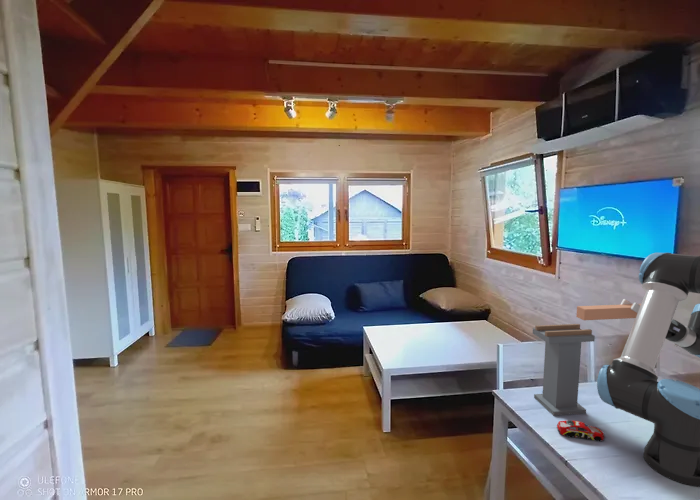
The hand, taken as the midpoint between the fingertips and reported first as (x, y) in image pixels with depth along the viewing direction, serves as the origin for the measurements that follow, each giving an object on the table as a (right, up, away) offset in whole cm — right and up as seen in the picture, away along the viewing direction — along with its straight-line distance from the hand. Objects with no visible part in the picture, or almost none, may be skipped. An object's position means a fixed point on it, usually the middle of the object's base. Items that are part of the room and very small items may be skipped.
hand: (627, 304), depth 137 cm
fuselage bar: (-5, -5, 0) cm, 7 cm away
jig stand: (-24, -37, +2) cm, 44 cm away
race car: (-26, -40, -15) cm, 50 cm away
